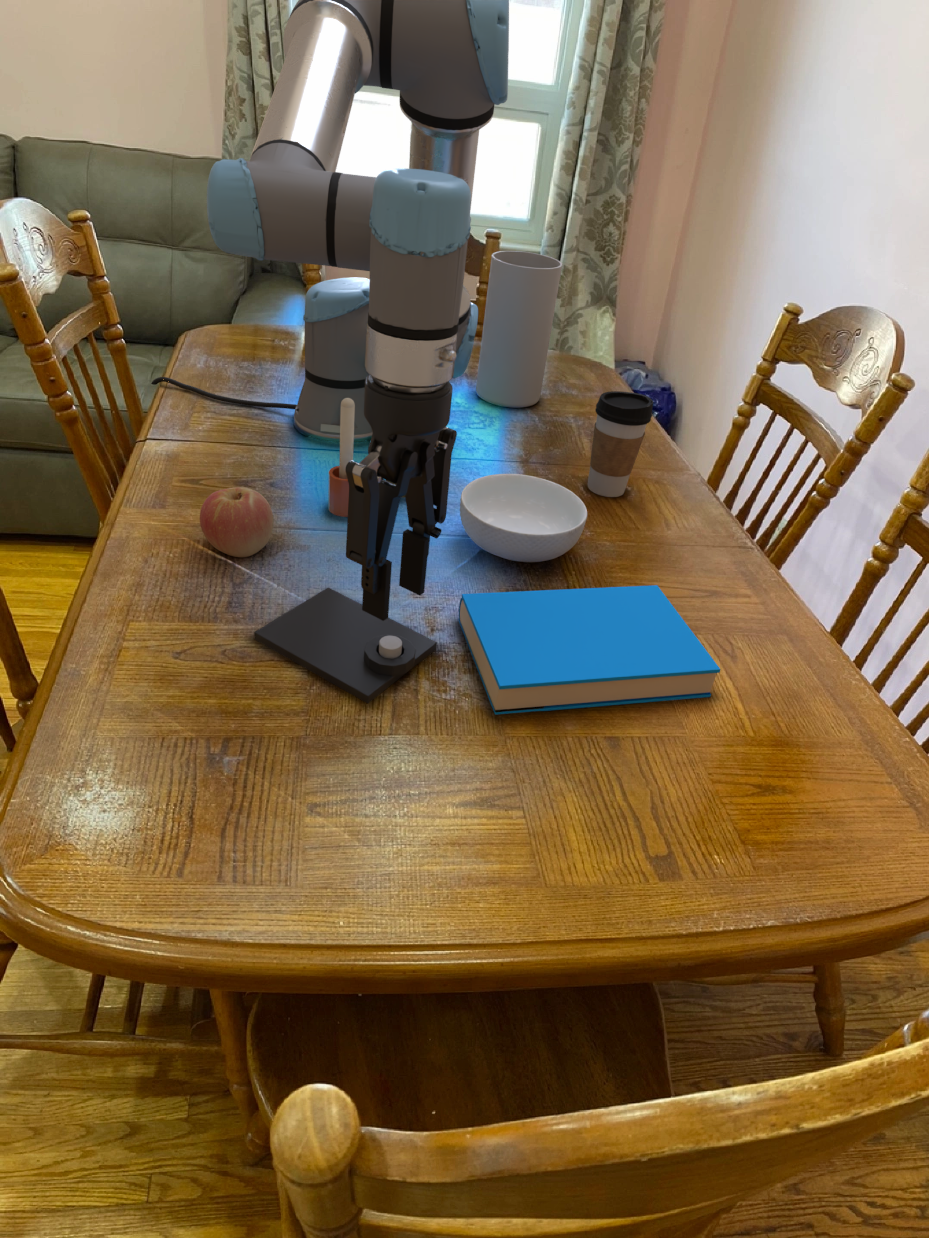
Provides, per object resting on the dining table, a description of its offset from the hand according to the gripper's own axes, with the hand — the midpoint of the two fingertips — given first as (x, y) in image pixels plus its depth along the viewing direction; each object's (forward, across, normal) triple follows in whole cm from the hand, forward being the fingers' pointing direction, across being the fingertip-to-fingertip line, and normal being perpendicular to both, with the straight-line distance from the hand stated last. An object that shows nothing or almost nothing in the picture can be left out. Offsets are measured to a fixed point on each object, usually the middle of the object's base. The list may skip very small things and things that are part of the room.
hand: (393, 600), depth 83 cm
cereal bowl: (+9, +32, +3) cm, 33 cm away
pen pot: (+9, +23, +26) cm, 36 cm away
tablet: (+9, 0, +6) cm, 11 cm away
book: (+9, +16, -15) cm, 24 cm away
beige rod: (+8, +23, +26) cm, 36 cm away
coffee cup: (+9, +58, +2) cm, 59 cm away
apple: (+9, +6, +29) cm, 31 cm away
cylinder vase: (+9, +80, +34) cm, 87 cm away
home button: (+7, 0, 0) cm, 7 cm away
